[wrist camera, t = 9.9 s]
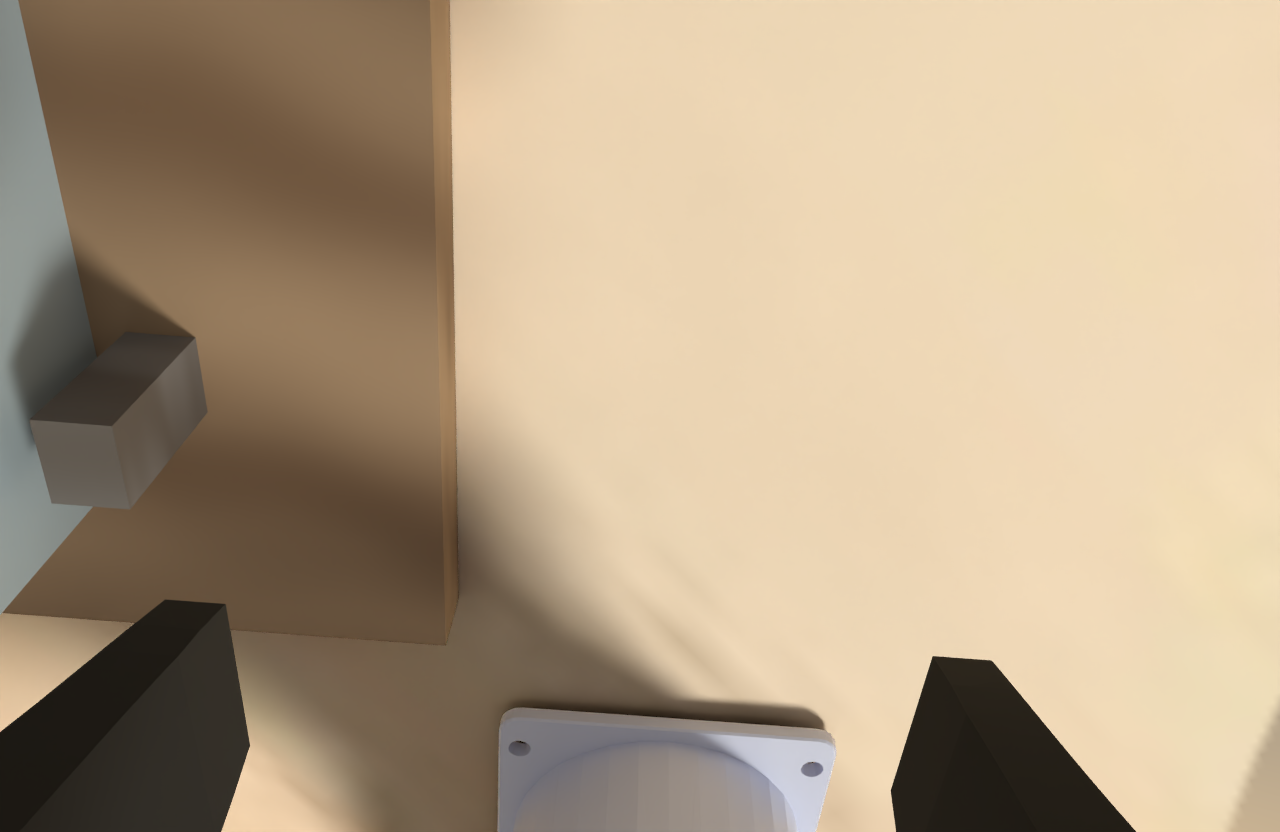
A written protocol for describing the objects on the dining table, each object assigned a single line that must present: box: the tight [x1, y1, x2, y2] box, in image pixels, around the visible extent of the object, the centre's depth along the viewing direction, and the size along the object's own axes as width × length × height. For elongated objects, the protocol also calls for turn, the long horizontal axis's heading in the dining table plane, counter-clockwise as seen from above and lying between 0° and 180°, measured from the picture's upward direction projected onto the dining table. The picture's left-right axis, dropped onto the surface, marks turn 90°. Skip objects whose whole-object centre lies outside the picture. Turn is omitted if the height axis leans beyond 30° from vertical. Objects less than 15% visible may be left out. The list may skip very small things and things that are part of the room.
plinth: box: [2, 0, 459, 645], centre depth 15 cm, size 20×12×4 cm, turn 175°
